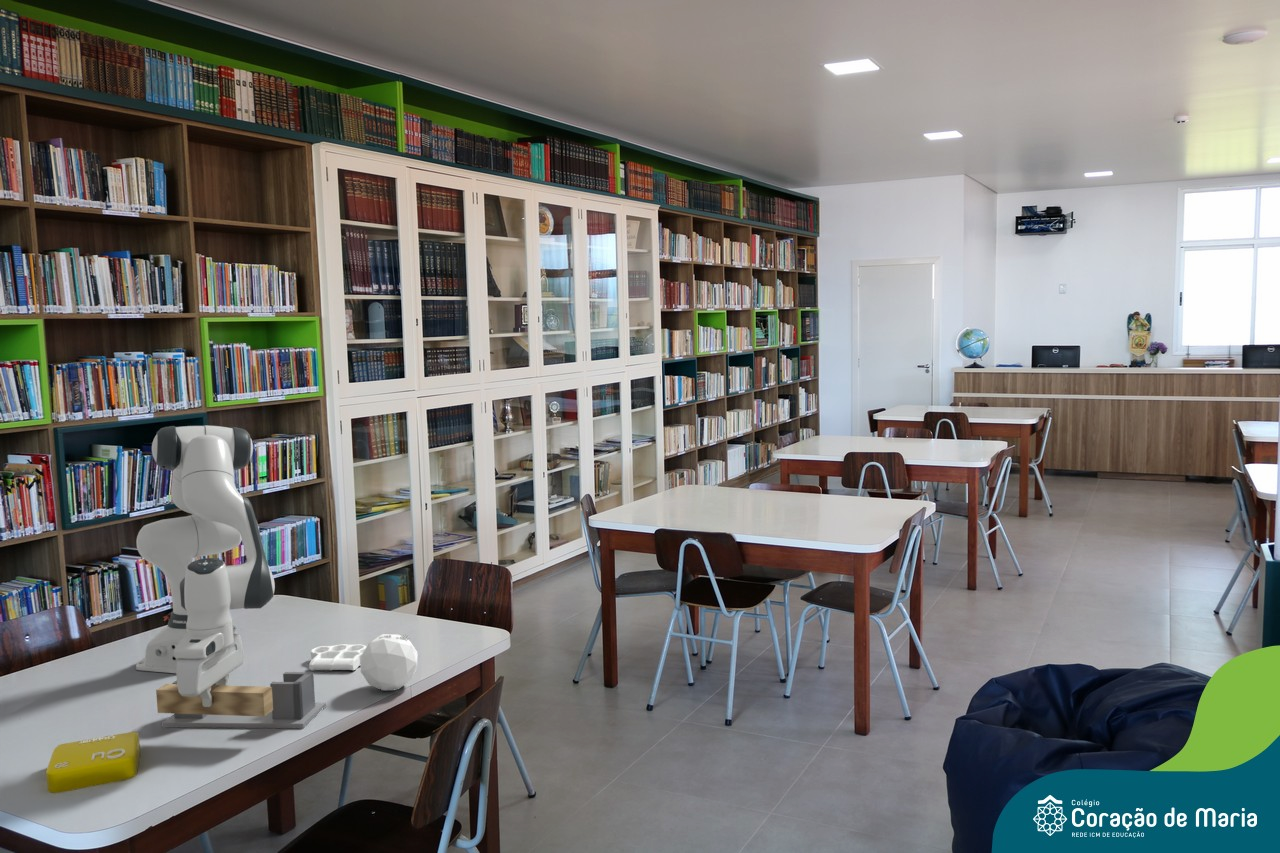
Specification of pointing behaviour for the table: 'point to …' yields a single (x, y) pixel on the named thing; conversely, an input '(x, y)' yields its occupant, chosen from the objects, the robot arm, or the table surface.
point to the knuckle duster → (336, 657)
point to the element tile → (93, 762)
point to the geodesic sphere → (389, 662)
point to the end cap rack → (288, 711)
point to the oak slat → (217, 701)
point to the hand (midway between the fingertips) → (214, 701)
